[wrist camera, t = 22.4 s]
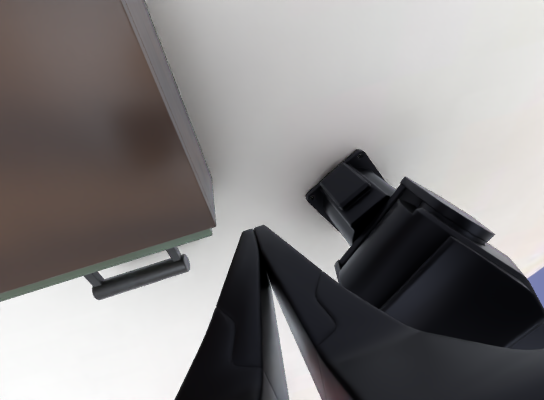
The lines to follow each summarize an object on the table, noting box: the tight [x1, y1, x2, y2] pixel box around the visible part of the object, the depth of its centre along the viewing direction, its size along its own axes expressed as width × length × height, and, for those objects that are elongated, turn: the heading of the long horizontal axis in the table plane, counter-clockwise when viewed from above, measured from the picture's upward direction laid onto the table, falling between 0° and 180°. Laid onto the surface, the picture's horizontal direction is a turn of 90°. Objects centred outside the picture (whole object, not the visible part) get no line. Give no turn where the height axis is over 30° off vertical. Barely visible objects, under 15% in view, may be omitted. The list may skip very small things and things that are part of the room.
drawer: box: [0, 228, 212, 302], centre depth 16 cm, size 18×13×5 cm
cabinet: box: [0, 0, 216, 294], centre depth 13 cm, size 15×15×7 cm
